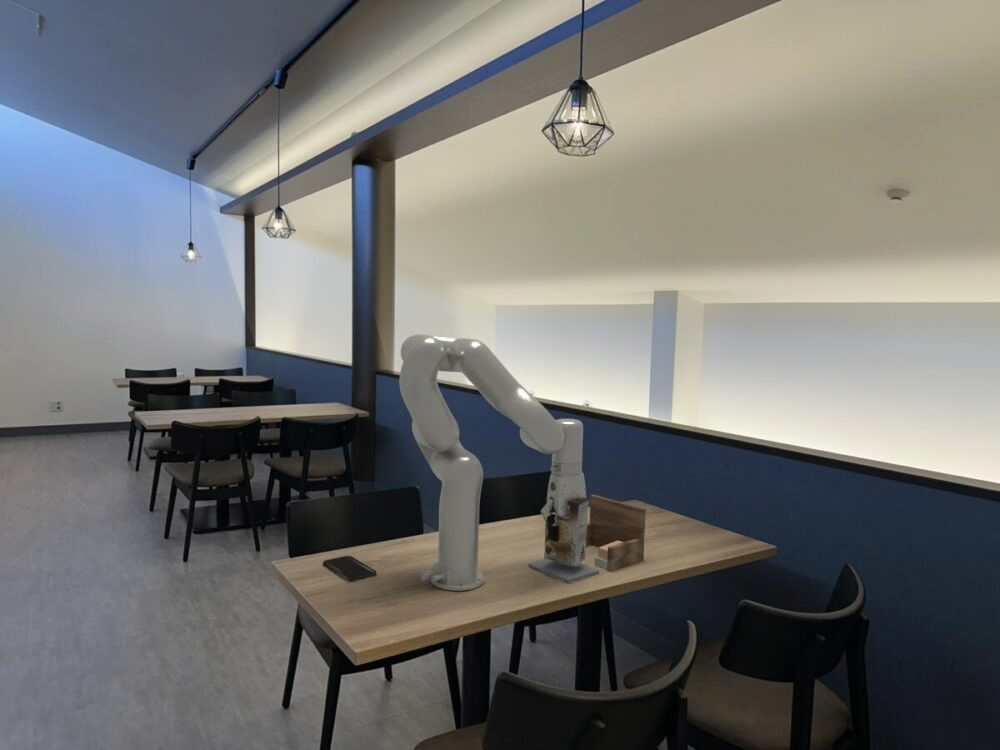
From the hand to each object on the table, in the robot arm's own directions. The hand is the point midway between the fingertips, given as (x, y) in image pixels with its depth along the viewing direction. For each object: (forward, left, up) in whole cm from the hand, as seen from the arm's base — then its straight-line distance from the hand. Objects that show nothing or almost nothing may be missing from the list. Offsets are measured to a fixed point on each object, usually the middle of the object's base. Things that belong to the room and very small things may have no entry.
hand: (564, 536), depth 167 cm
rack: (+15, +1, -9) cm, 17 cm away
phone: (-43, +32, -9) cm, 54 cm away
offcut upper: (+14, -4, -6) cm, 16 cm away
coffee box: (0, 0, -6) cm, 6 cm away
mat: (0, 0, -9) cm, 9 cm away
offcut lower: (+14, -4, -9) cm, 17 cm away
